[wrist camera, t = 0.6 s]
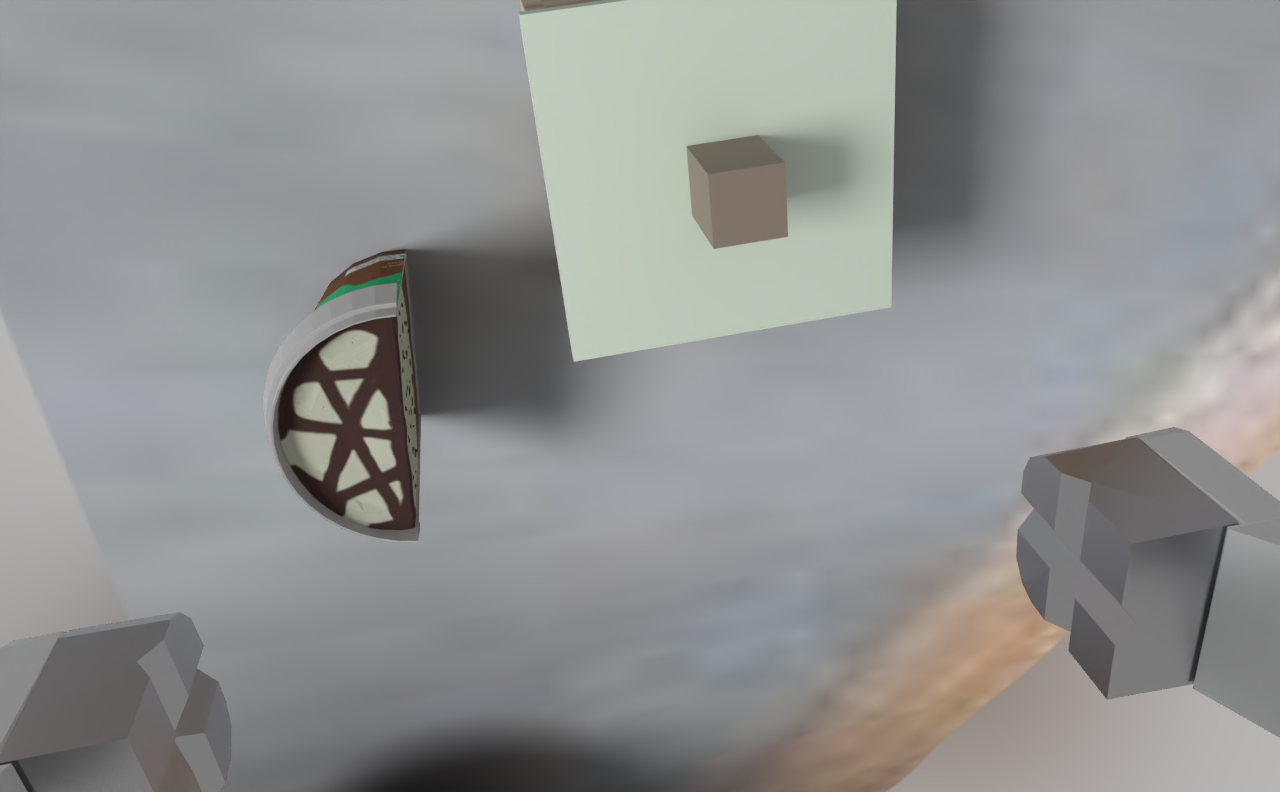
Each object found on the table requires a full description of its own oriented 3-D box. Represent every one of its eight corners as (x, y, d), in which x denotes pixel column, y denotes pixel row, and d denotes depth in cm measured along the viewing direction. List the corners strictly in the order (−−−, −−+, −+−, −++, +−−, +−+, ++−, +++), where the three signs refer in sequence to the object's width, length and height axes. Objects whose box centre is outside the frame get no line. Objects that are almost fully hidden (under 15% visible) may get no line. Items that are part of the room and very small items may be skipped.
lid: (518, 11, 39) (527, 33, 35) (889, -41, 41) (940, -25, 36) (572, 353, 46) (584, 404, 42) (884, 300, 48) (926, 344, 44)
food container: (270, 223, 48) (232, 309, 40) (403, 219, 49) (395, 302, 41) (304, 446, 54) (278, 562, 46) (423, 438, 55) (419, 551, 47)
